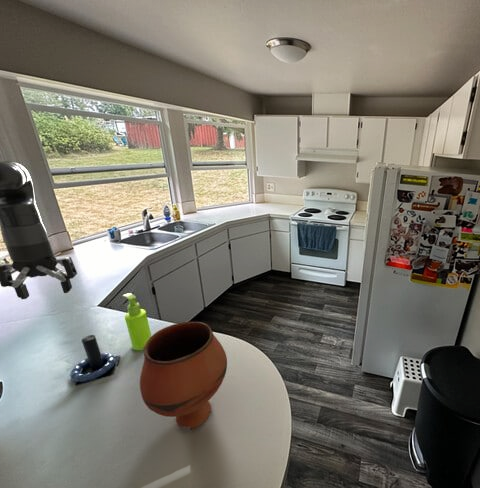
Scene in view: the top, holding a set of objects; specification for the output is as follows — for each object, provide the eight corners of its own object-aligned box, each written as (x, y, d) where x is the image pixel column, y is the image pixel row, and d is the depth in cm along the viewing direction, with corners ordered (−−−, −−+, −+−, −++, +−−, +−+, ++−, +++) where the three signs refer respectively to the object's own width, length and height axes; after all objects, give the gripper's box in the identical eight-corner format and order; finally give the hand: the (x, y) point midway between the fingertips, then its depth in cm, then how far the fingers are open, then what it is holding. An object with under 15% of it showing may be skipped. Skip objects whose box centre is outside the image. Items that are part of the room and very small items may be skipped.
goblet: (215, 454, 58) (202, 372, 50) (132, 453, 58) (105, 370, 50) (240, 383, 76) (233, 315, 68) (177, 383, 76) (162, 313, 68)
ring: (64, 388, 72) (62, 382, 71) (80, 362, 81) (78, 357, 80) (110, 376, 76) (108, 371, 75) (119, 353, 85) (118, 348, 84)
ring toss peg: (75, 388, 73) (61, 353, 69) (85, 366, 80) (73, 333, 76) (114, 377, 77) (103, 343, 73) (120, 357, 85) (111, 325, 80)
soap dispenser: (146, 335, 95) (135, 289, 88) (155, 342, 91) (145, 295, 85) (128, 345, 90) (115, 296, 83) (137, 352, 87) (124, 303, 80)
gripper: (69, 234, 72) (84, 284, 77) (-3, 239, 65) (18, 293, 71) (58, 241, 65) (75, 296, 70) (-24, 248, 59) (1, 307, 64)
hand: (47, 294), depth 70 cm, fingers open, 8 cm apart
